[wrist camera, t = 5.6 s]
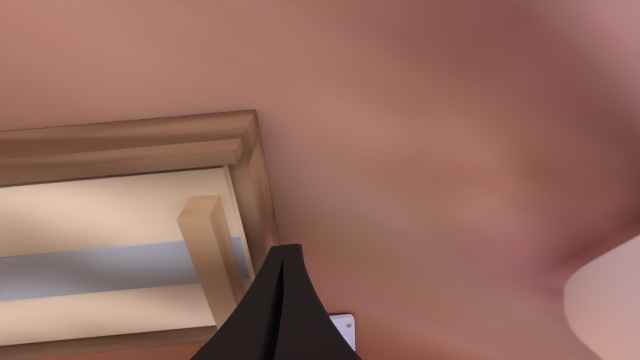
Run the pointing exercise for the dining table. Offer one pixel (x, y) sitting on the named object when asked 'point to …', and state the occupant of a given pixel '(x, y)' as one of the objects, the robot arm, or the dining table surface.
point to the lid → (120, 254)
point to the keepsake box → (145, 156)
